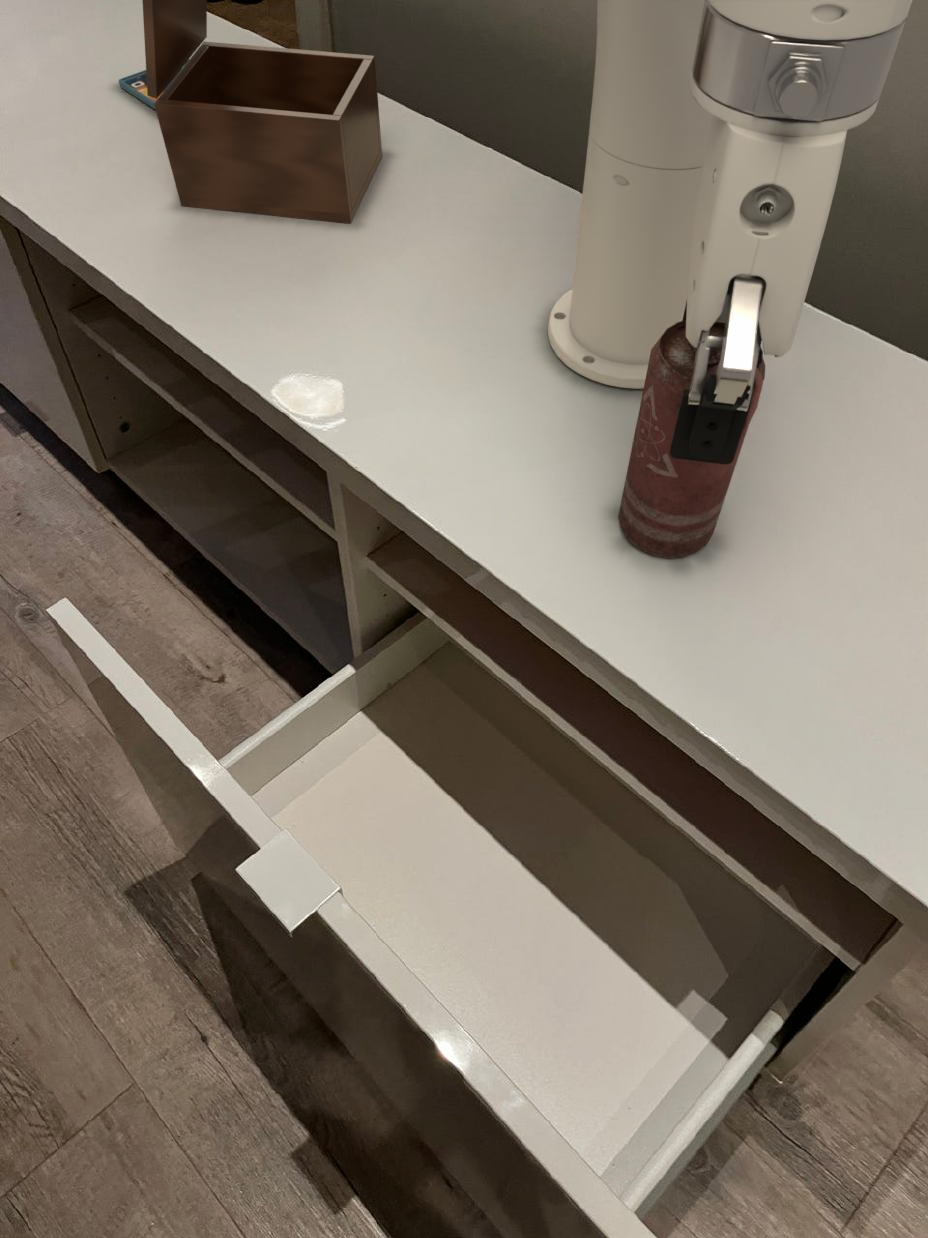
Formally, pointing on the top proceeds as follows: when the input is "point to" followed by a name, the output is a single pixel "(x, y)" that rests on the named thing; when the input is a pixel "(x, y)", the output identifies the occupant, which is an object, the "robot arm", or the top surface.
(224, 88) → the chest
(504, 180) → the top surface
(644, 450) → the can
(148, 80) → the lid
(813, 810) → the top surface
